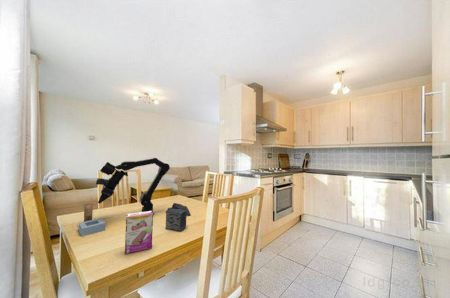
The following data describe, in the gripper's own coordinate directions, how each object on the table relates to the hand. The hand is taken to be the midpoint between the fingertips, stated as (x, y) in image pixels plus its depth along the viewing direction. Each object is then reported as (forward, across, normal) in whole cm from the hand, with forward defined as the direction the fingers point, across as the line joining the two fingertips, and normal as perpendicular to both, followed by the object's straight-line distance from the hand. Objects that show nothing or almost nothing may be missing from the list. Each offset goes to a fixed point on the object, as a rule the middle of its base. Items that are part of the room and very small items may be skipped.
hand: (99, 201), depth 107 cm
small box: (-9, +30, +40) cm, 51 cm away
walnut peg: (+14, -1, +3) cm, 15 cm away
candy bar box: (+2, +43, +23) cm, 48 cm away
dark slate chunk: (-14, +4, +49) cm, 51 cm away
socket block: (+13, +8, +5) cm, 16 cm away
